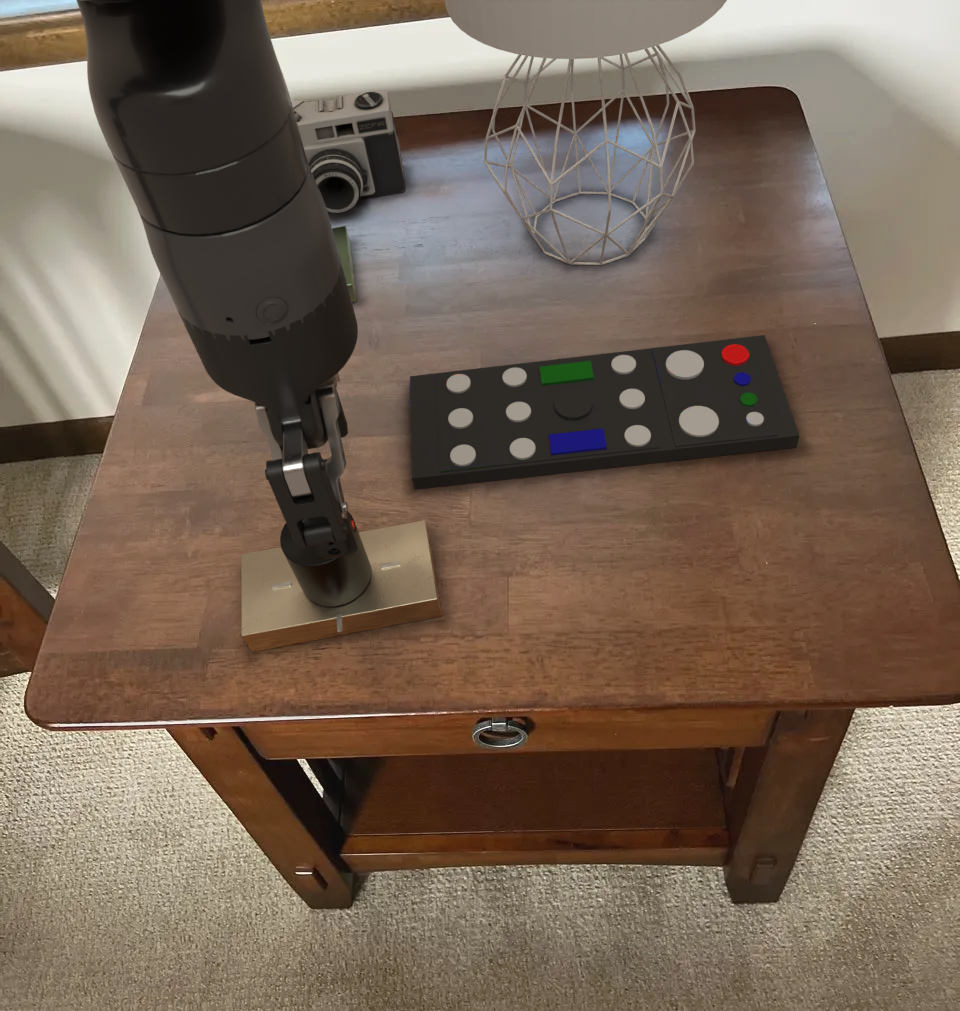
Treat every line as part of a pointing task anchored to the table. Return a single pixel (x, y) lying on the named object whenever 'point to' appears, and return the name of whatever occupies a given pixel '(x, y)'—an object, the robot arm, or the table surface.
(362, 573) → the hob knob
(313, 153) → the camera
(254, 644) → the panel
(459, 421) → the remote control
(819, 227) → the table surface
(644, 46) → the table lamp
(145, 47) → the robot arm
